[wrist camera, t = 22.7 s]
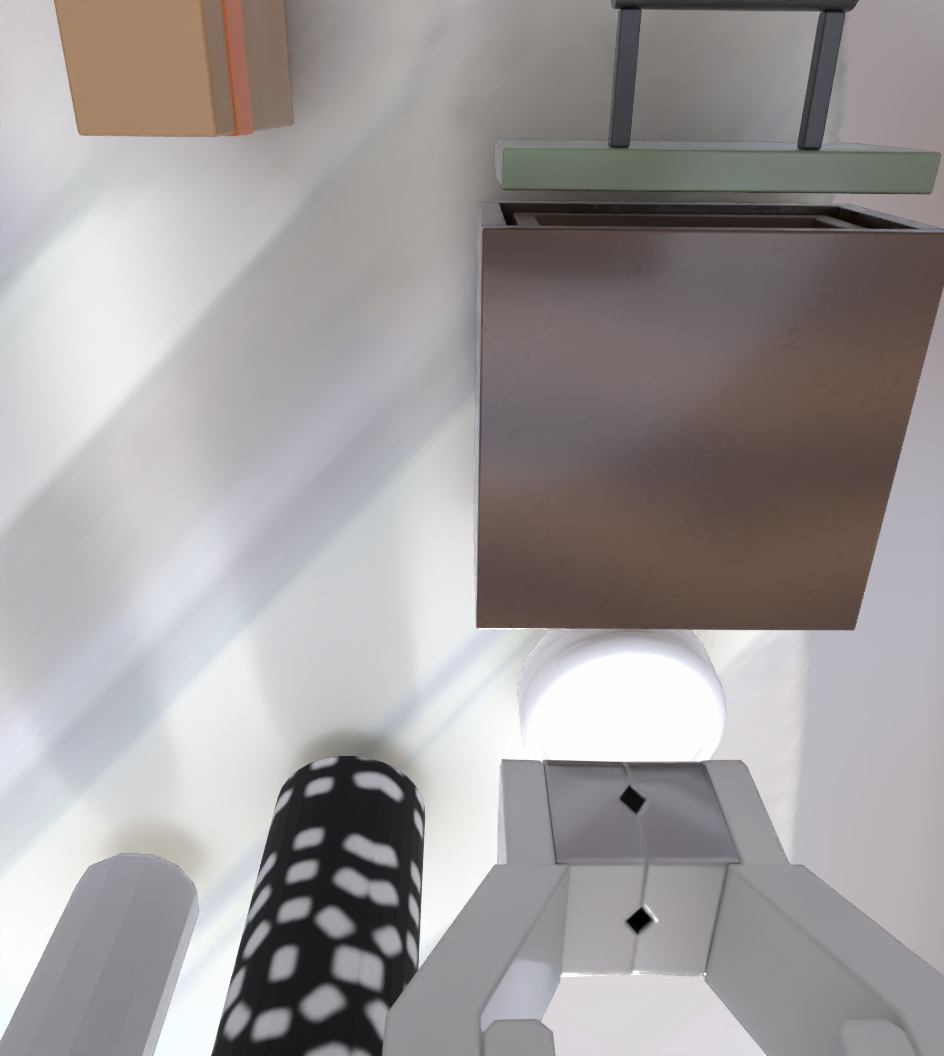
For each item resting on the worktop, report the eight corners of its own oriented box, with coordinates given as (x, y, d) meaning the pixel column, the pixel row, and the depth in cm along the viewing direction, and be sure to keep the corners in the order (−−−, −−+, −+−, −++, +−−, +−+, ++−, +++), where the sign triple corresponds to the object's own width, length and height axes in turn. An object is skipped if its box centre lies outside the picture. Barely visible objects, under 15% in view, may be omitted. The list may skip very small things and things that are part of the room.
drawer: (499, -33, 29) (507, -66, 23) (890, -28, 29) (994, -59, 23) (488, 475, 37) (492, 542, 31) (790, 477, 37) (848, 544, 32)
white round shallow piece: (725, 732, 45) (745, 779, 42) (544, 776, 46) (551, 825, 43) (690, 578, 41) (710, 618, 37) (493, 631, 42) (496, 673, 39)
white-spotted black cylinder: (252, 775, 46) (123, 1202, 28) (397, 739, 45) (357, 1158, 27) (309, 877, 50) (226, 1313, 32) (443, 846, 49) (436, 1278, 31)
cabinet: (477, 200, 33) (482, 228, 26) (850, 203, 33) (958, 232, 26) (473, 532, 39) (476, 630, 32) (783, 534, 40) (855, 631, 32)
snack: (171, -72, 29) (20, -161, 19) (280, -71, 29) (185, -159, 19) (196, 125, 31) (75, 137, 22) (295, 127, 32) (219, 139, 22)
